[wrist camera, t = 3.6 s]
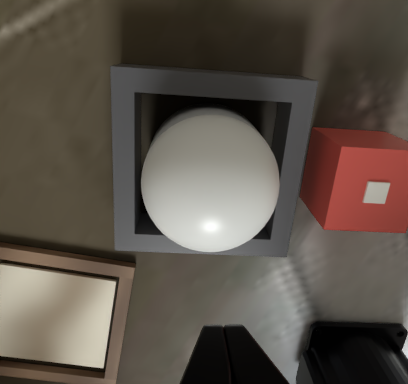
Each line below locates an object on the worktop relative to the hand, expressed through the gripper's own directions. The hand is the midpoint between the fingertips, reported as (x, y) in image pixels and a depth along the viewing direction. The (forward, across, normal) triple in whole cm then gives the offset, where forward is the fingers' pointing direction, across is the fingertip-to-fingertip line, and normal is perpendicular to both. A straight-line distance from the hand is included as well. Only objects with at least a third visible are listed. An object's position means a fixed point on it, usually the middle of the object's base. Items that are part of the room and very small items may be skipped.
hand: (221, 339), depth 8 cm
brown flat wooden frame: (+13, +13, +10) cm, 21 cm away
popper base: (+13, -3, 0) cm, 13 cm away
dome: (+12, 0, 0) cm, 12 cm away
